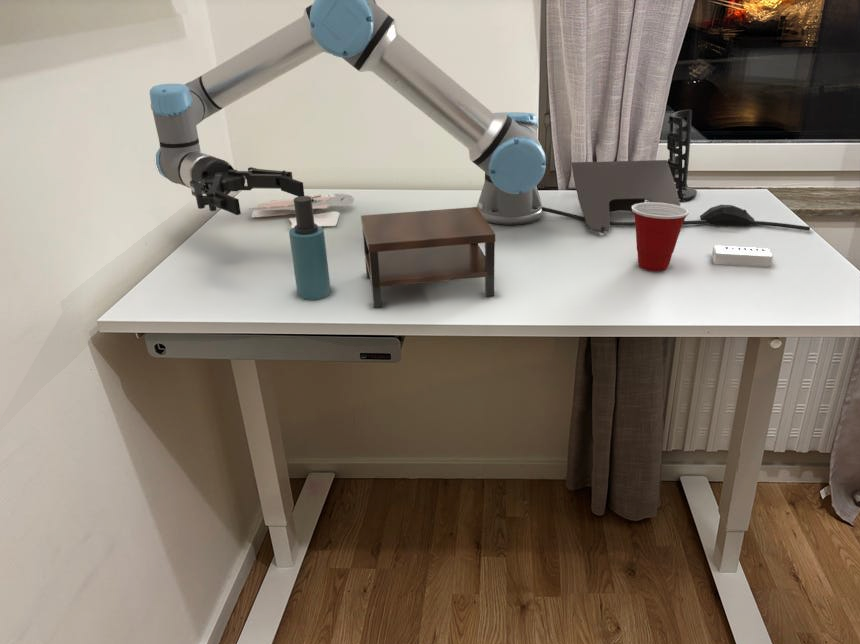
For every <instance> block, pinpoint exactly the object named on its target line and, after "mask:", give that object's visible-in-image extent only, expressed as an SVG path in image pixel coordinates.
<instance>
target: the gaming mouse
mask: <svg viewBox="0 0 860 644" xmlns="http://www.w3.org/2000/svg"><path fill="white" fill-rule="evenodd" d="M699 218H700V219H699V220H706V221H707V223H708V224H707V225H710V226H716V227H736V228H738V227H739V228H740V227H741V228H746V227H751V226H752V224H753V222H754V221H756V219H755V218H754V217H753V216H752V215H750V214H749V212H748V211H747V209H743V208H742V207H738V206H736V205H734V204H733V205H732V204H718V205H716V206H713V207H709V208H708V209H707V210H706V211H705V212H703V213H702V214H701V215H700V216H699Z"/></svg>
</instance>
